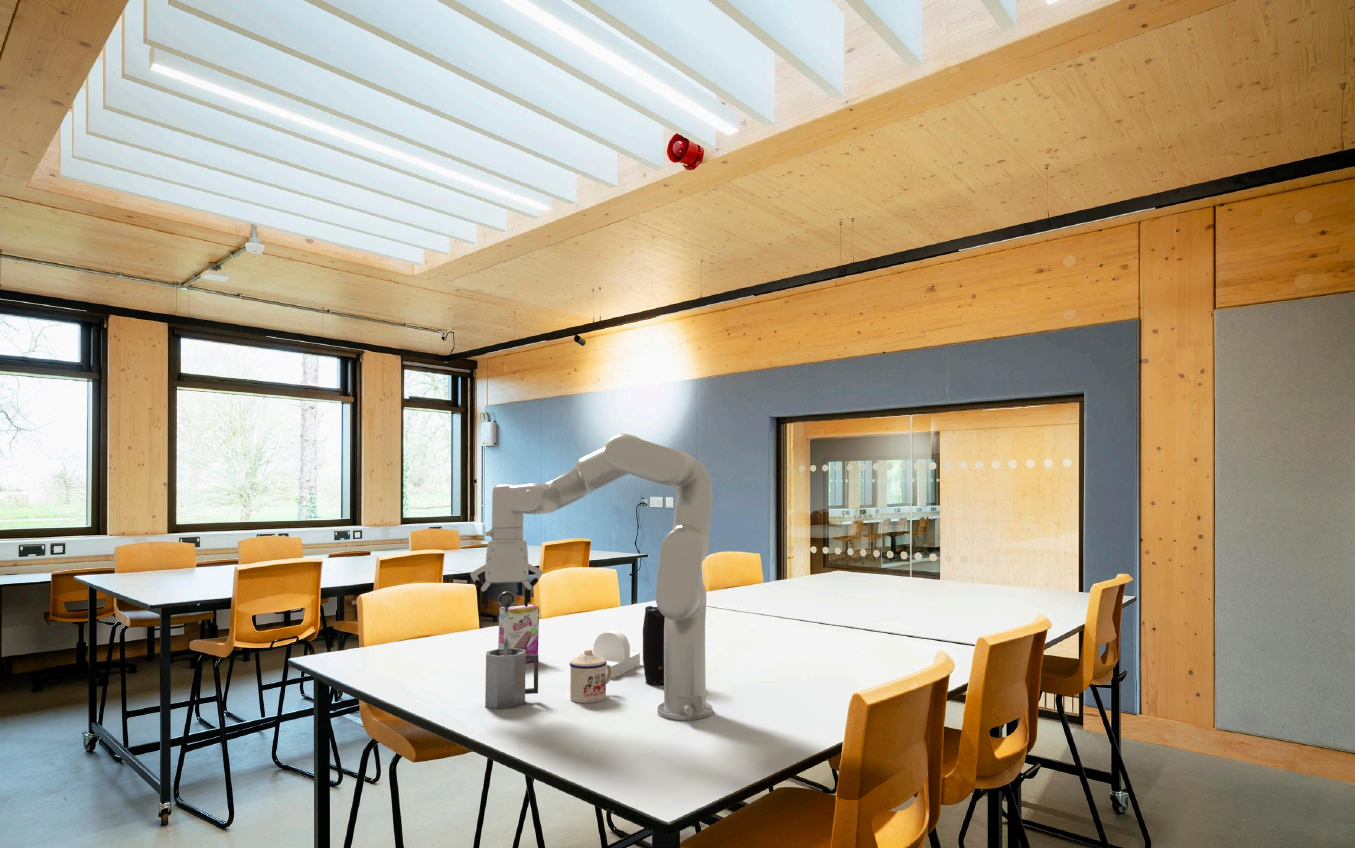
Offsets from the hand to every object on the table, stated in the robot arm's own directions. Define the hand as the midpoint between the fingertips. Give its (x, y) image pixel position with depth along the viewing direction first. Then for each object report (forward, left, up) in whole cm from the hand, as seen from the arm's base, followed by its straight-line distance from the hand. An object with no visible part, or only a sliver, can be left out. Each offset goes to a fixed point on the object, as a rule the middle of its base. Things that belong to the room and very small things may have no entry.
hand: (506, 606), depth 180 cm
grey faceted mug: (0, -2, -23) cm, 23 cm away
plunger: (0, 0, -13) cm, 13 cm away
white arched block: (+27, -30, -23) cm, 46 cm away
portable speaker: (+10, -40, -23) cm, 47 cm away
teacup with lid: (0, -21, -23) cm, 31 cm away
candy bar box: (+43, -4, -23) cm, 49 cm away
